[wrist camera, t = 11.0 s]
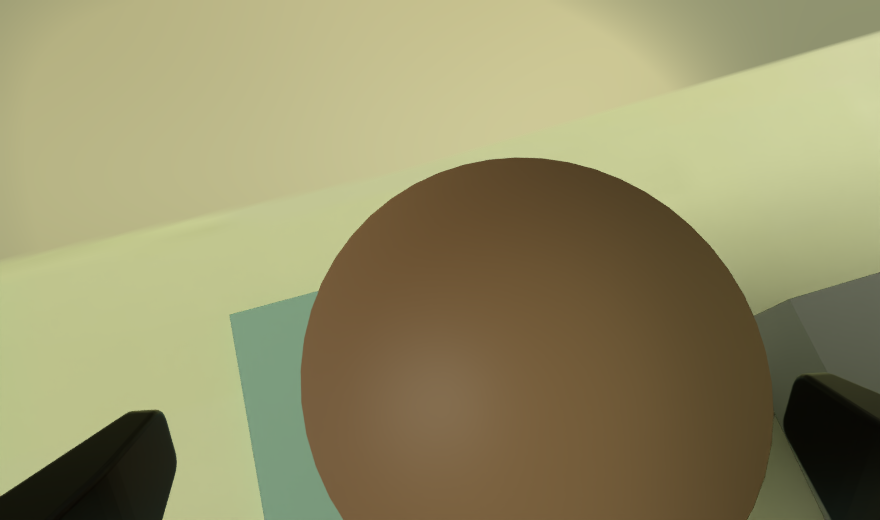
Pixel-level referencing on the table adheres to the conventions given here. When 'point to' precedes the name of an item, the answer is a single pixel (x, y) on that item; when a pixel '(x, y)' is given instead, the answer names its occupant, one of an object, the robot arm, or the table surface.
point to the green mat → (279, 409)
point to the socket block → (823, 340)
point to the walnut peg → (534, 357)
